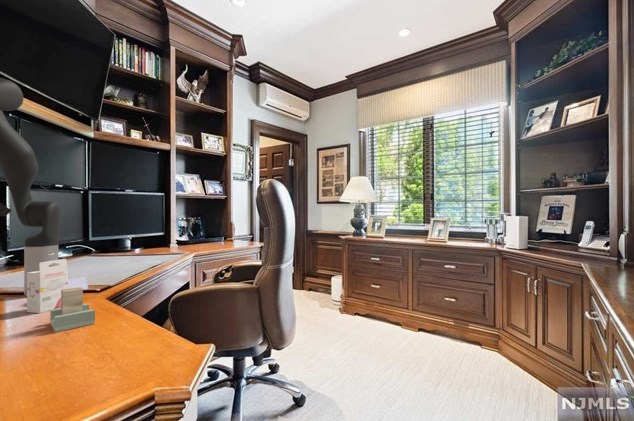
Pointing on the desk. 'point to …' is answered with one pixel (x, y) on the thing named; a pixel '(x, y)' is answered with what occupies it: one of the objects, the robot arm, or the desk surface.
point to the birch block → (71, 300)
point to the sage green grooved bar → (71, 318)
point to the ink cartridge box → (46, 286)
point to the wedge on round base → (78, 283)
